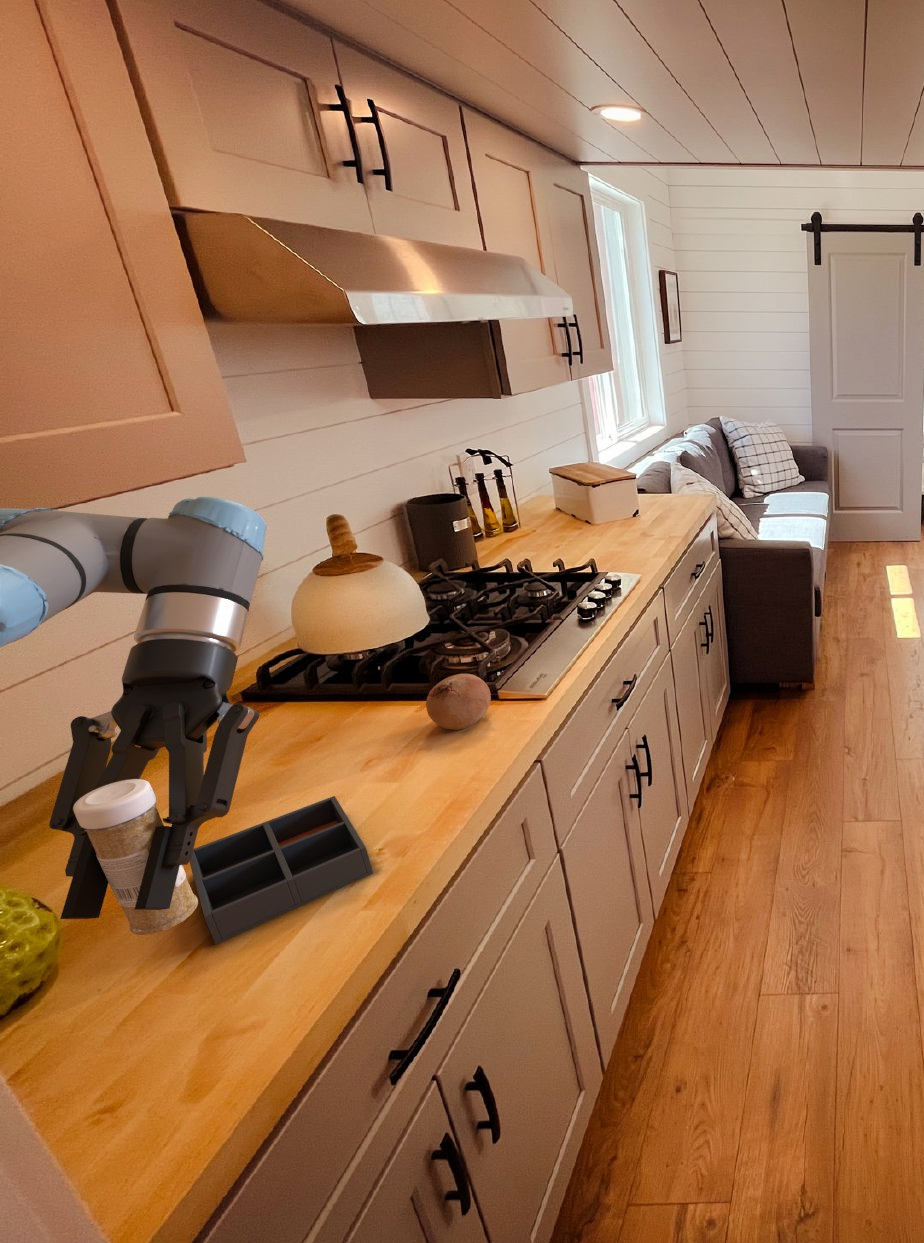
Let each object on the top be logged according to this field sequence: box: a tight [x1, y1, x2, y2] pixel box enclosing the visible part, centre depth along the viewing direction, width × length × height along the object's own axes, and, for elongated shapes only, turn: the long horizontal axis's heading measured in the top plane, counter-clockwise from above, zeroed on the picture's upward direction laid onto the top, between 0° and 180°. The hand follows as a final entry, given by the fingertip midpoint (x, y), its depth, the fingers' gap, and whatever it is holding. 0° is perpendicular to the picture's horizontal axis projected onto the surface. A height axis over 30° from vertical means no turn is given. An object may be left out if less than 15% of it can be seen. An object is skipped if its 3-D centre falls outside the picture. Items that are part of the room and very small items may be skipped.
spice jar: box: [73, 778, 199, 936], centre depth 61 cm, size 5×5×13 cm
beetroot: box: [425, 673, 492, 731], centre depth 119 cm, size 10×9×10 cm
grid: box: [189, 795, 374, 946], centre depth 86 cm, size 15×15×4 cm
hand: (116, 913), depth 59 cm, fingers closed on spice jar, 4 cm apart
